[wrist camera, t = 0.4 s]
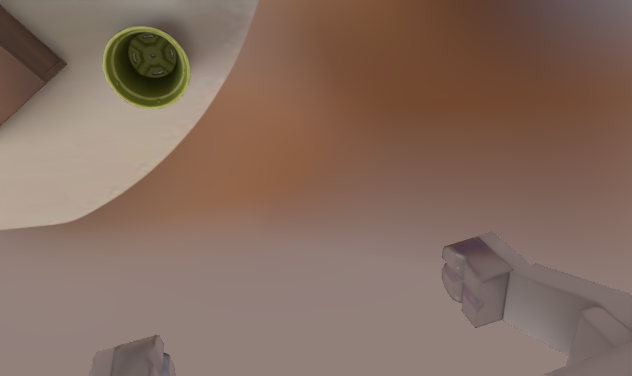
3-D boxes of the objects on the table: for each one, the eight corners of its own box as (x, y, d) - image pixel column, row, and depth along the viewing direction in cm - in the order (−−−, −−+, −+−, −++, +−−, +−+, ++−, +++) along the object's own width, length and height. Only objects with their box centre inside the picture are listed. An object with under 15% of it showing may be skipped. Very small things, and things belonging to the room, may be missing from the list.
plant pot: (127, 95, 57) (119, 116, 49) (102, 22, 52) (89, 33, 45) (196, 83, 58) (198, 101, 51) (178, 11, 54) (178, 20, 46)
